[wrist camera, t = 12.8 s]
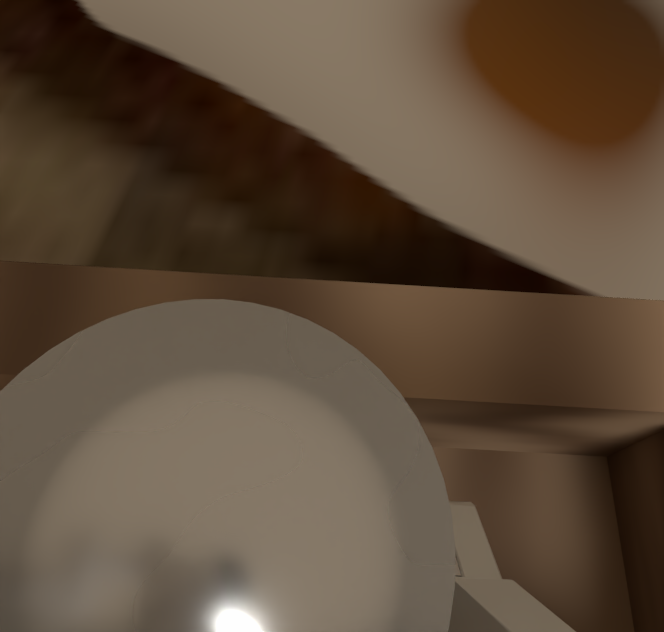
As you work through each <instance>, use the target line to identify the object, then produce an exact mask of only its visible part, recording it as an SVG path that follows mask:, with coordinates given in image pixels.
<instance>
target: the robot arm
mask: <svg viewBox="0 0 664 632" xmlns="http://www.w3.org/2000/svg"><path fill="white" fill-rule="evenodd" d="M449 504H450V508H451V513H452V522H453V532H454V541H455V589H454V596H453V604H452V611H451V618H450V625H449V630H448V632H576V631H575V630H573V629H572V628H571V627H570V626H568V625H567V624H566V623H565V622H564V621H562V620H561V619H560V618H559V617H557V616H556V615H555V614H554V613H553V612H551V611H550V610H549V609H548V608H546V607H545V606H544V605H543V604H542V603H540V602H539V601H538V600H537V599H535V598H534V597H533V596H532V595H530V594H529V593H528V592H527V591H526V590H524V589H523V588H522V587H521V586H519V585H518V584H517V583H516V582H515V581H513V580H508V579H502V577H501V574H500V571H499V569H498V566H497V563H496V561H495V558H494V555H493V553H492V550H491V547H490V545H489V542H488V539H487V536H486V534H485V531H484V528H483V526H482V523H481V520H480V518H479V515H478V512H477V510H476V507H475V505H474V504H473V503H471V502H461V501H449Z"/></svg>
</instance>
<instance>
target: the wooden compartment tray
mask: <svg viewBox="0 0 664 632" xmlns="http://www.w3.org/2000/svg"><path fill="white" fill-rule="evenodd" d="M192 299H226V300H234V301H243V302H251V303H256V304H260V305H264V306H269V307H273V308H277V309H281V310H284V311H286V312H289V313H292V314H294V315H297V316H300V317H302V318H305V319H308V320H310V321H312V322H313V323H315V324H317V325H319V326H321V327H323V328H325V329H327V330H329V331H331V332H333V333H334V334H336V335H337V336H339V337H340V338H342V339H343V340H344V341H346V342H347V343H349V344H350V345H352V346H353V347H355V348H356V349H358V350H359V351H360V352H361V353H362V354H363V355H364V356H365V357H367V358H368V359H369V360H370V361H371V362H372V363H373V364H374V365H375V366H377V367H378V368H379V369H380V370H381V371H382V372H383V374H384V375H385V376H386V377H387V378H388V379H389V380H390V382H391V383H392V384H393V385H394V386H395V387H396V388H397V390H398V391H399V392H400V393H401V395H402V396H403V398H404V399H405V401H406V402H407V404H408V405H409V406H410V408H411V409H412V411H413V412H414V414H415V415H416V417H417V418H418V420H419V422H420V424H421V426H422V428H423V430H424V432H425V434H426V436H427V438H428V440H429V442H430V444H431V446H432V448H433V451H434V453H435V456H436V459H437V462H438V465H439V467H440V470H441V473H442V476H443V478H444V482H445V487H446V491H447V495H448V500H449V501H461V502H471V503H473V504H474V505H475V507H476V510H477V512H478V515H479V518H480V520H481V523H482V526H483V528H484V531H485V534H486V536H487V539H488V542H489V545H490V547H491V550H492V553H493V555H494V558H495V561H496V563H497V566H498V569H499V571H500V574H501V577H502V579H508V580H513V581H515V582H516V583H517V584H518V585H519V586H521V587H522V588H523V589H524V590H526V591H527V592H528V593H529V594H530V595H532V596H533V597H534V598H535V599H537V600H538V601H539V602H540V603H542V604H543V605H544V606H545V607H546V608H548V609H549V610H550V611H551V612H553V613H554V614H555V615H556V616H557V617H559V618H560V619H561V620H562V621H564V622H565V623H566V624H567V625H568V626H570V627H571V628H572V629H573V630H575V631H576V632H664V301H662V300H646V299H628V298H612V297H596V296H579V295H562V294H546V293H529V292H512V291H495V290H479V289H462V288H445V287H429V286H412V285H395V284H379V283H362V282H345V281H329V280H312V279H295V278H278V277H262V276H245V275H228V274H212V273H195V272H178V271H162V270H145V269H128V268H111V267H95V266H78V265H61V264H45V263H28V262H11V261H0V391H1V390H2V389H3V388H4V387H5V386H6V385H7V384H9V383H10V382H11V381H12V380H13V379H14V378H15V377H16V376H17V375H18V374H19V373H20V372H21V371H22V370H24V369H25V368H26V367H28V366H29V365H30V364H31V363H33V362H34V361H35V360H37V359H38V358H39V357H41V356H42V355H43V354H45V353H46V352H47V351H48V350H50V349H52V348H53V347H55V346H57V345H58V344H60V343H61V342H63V341H65V340H66V339H68V338H70V337H71V336H73V335H75V334H76V333H78V332H80V331H82V330H85V329H87V328H89V327H91V326H93V325H95V324H97V323H99V322H101V321H104V320H106V319H109V318H111V317H114V316H117V315H120V314H123V313H126V312H129V311H132V310H135V309H139V308H143V307H147V306H152V305H156V304H161V303H165V302H174V301H183V300H192Z"/></svg>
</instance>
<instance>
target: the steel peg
mask: <svg viewBox="0 0 664 632" xmlns="http://www.w3.org/2000/svg"><path fill="white" fill-rule="evenodd" d="M454 589H455V541H454V532H453V522H452V513H451V508H450V504H449V500H448V495H447V491H446V487H445V482H444V478H443V476H442V473H441V470H440V467H439V465H438V462H437V459H436V456H435V453H434V451H433V448H432V446H431V444H430V442H429V440H428V438H427V436H426V434H425V432H424V430H423V428H422V426H421V424H420V422H419V420H418V418H417V417H416V415H415V414H414V412H413V411H412V409H411V408H410V406H409V405H408V404H407V402H406V401H405V399H404V398H403V396H402V395H401V393H400V392H399V391H398V390H397V388H396V387H395V386H394V385H393V384H392V383H391V382H390V380H389V379H388V378H387V377H386V376H385V375H384V374H383V372H382V371H381V370H380V369H379V368H378V367H377V366H375V365H374V364H373V363H372V362H371V361H370V360H369V359H368V358H367V357H365V356H364V355H363V354H362V353H361V352H360V351H359V350H358V349H356V348H355V347H353V346H352V345H350V344H349V343H347V342H346V341H344V340H343V339H342V338H340V337H339V336H337V335H336V334H334V333H333V332H331V331H329V330H327V329H325V328H323V327H321V326H319V325H317V324H315V323H313V322H312V321H310V320H308V319H305V318H302V317H300V316H297V315H294V314H292V313H289V312H286V311H284V310H281V309H277V308H273V307H269V306H264V305H260V304H256V303H251V302H243V301H234V300H226V299H192V300H183V301H174V302H165V303H161V304H156V305H152V306H147V307H143V308H139V309H135V310H132V311H129V312H126V313H123V314H120V315H117V316H114V317H111V318H109V319H106V320H104V321H101V322H99V323H97V324H95V325H93V326H91V327H89V328H87V329H85V330H82V331H80V332H78V333H76V334H75V335H73V336H71V337H70V338H68V339H66V340H65V341H63V342H61V343H60V344H58V345H57V346H55V347H53V348H52V349H50V350H48V351H47V352H46V353H45V354H43V355H42V356H41V357H39V358H38V359H37V360H35V361H34V362H33V363H31V364H30V365H29V366H28V367H26V368H25V369H24V370H22V371H21V372H20V373H19V374H18V375H17V376H16V377H15V378H14V379H13V380H12V381H11V382H10V383H9V384H7V385H6V386H5V387H4V388H3V389H2V390H1V391H0V632H448V630H449V625H450V618H451V611H452V604H453V596H454Z"/></svg>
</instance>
